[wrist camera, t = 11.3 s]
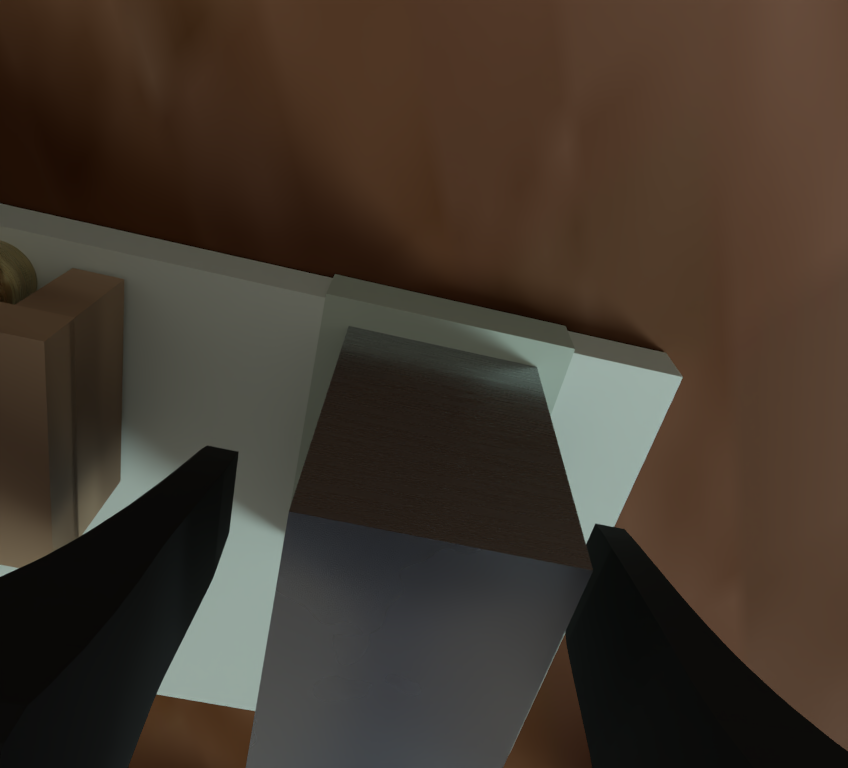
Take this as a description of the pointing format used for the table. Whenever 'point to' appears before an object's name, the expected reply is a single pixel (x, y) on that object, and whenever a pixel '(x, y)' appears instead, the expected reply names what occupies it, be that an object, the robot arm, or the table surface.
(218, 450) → the robot arm
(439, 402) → the grey block
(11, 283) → the stubs
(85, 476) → the cover
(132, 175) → the table surface
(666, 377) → the base
